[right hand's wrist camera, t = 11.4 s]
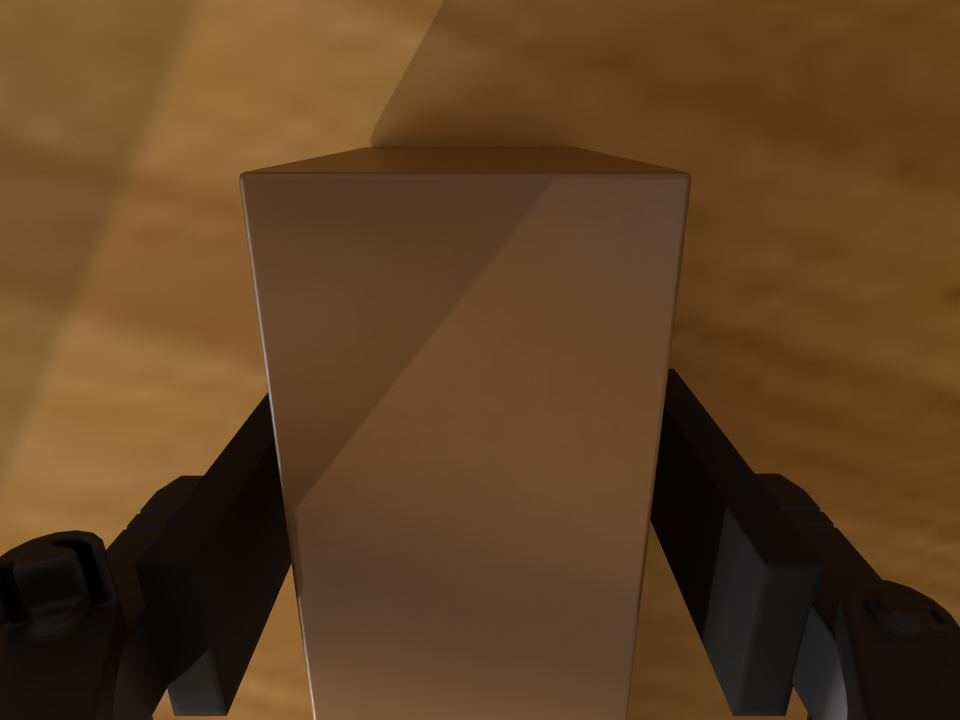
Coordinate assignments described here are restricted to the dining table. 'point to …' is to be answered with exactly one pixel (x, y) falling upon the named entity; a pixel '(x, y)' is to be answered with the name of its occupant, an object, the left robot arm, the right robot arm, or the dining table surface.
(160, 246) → the dining table surface
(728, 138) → the dining table surface
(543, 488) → the bar
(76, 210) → the dining table surface
